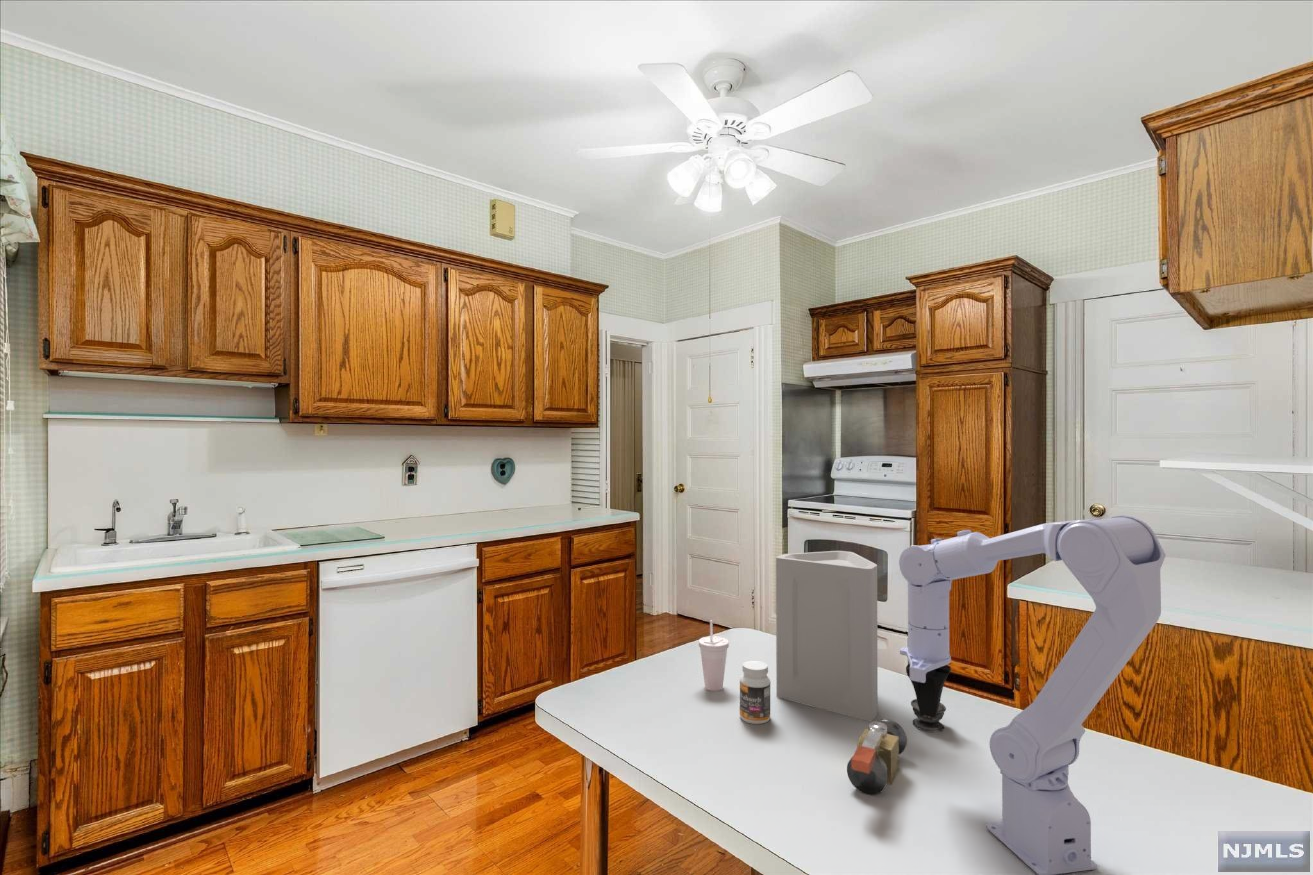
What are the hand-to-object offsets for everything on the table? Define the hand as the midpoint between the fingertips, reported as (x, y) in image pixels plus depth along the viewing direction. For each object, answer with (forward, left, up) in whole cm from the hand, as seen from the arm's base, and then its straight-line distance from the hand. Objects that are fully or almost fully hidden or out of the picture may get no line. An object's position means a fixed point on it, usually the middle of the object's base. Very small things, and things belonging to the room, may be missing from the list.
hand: (928, 714), depth 93 cm
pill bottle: (+25, +19, -11) cm, 33 cm away
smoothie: (+40, +23, -11) cm, 47 cm away
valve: (+4, +6, -10) cm, 13 cm away
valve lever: (0, +10, -5) cm, 11 cm away
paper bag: (+32, 0, -11) cm, 34 cm away
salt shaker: (+17, -11, -11) cm, 23 cm away
